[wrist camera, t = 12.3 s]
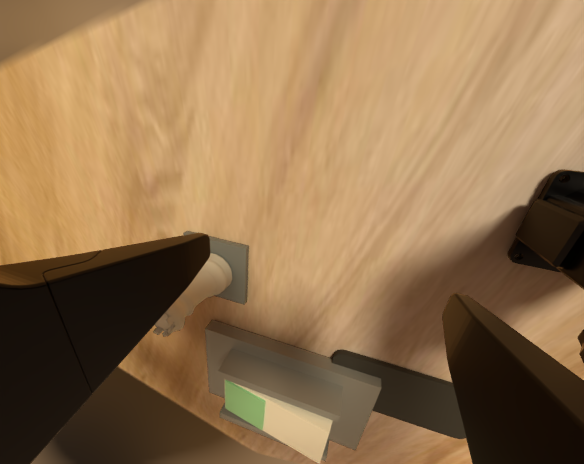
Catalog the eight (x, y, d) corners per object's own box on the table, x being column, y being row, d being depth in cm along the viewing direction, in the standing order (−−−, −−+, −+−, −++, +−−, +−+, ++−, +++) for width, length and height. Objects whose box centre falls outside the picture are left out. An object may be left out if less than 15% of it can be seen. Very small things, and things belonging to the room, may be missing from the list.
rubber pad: (248, 245, 24) (245, 248, 24) (246, 301, 27) (244, 304, 27) (187, 230, 26) (183, 233, 25) (191, 284, 29) (188, 287, 28)
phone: (465, 442, 26) (323, 394, 29) (462, 433, 26) (325, 388, 30) (497, 399, 23) (334, 351, 26) (492, 390, 23) (335, 344, 26)
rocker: (333, 417, 24) (328, 435, 23) (323, 448, 27) (319, 466, 25) (232, 364, 28) (223, 377, 27) (232, 396, 31) (224, 409, 29)
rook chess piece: (239, 287, 26) (190, 348, 19) (204, 286, 27) (146, 343, 20) (228, 249, 24) (170, 300, 17) (191, 250, 26) (124, 298, 19)
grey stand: (380, 374, 26) (382, 420, 22) (356, 436, 31) (354, 482, 27) (212, 319, 30) (188, 349, 26) (215, 382, 35) (195, 414, 31)
